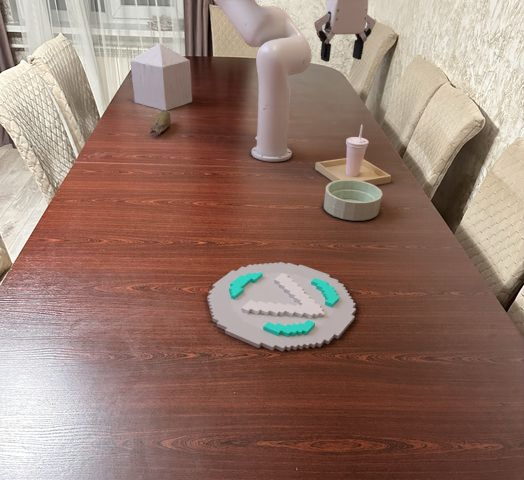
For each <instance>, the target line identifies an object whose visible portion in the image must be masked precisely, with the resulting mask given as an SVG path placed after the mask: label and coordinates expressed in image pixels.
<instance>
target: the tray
mask: <svg viewBox="0 0 524 480" xmlns="http://www.w3.org/2000/svg"><path fill="white" fill-rule="evenodd" d="M314 169H315V171H317V172H318V173H320V174H321V175H323V176H324V177H325V178H327V179H328V180H330V181H331V182H333V181H338V180H358V181H363V182H367V183H370V184H373V185H375V186H378V185H384V184H391V181H392V175H391V174H389V173H388V172H386V171H385V170H383V169H381V168H380V167H378V166H376V165H374V164H373V163H371V162H370V161H367V160H366V159H365V158H363V161H362V165H361V168H360V171H359V175H358V176H348V175H347V174H346V157H343V158H338V159H337V158H336V159H331V160H324V161H317V162H315V165H314Z"/></svg>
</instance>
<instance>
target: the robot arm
mask: <svg viewBox="0 0 524 480" xmlns="http://www.w3.org/2000/svg"><path fill="white" fill-rule="evenodd" d="M213 2H214V3H215V4H216V5H217V6H218V7H219V9H220V10H221V12H223V14H224V15H225V17H226V18H227V19H228V21H229V22H230V24H231V25H232V26H233V28H234V29H235V31H236V33H238V35H239V36H240V38H241V39H242V40H243V42H244V43H245V44H246V45H247V46H249V47H251V48H258V50H257V53H256V57H255V63H256V64H255V65H256V72H257V81H258V96H257V97H258V98H257V103H258V104H257V125H256V126H257V127H256V136H255V140H256V146H254V147H252V149H251V155H252V157H253V158H255V159H257V160H259V161H263V162H269V163H279V162H285V161H287V160H290V158H292V155H293V151H292V150H291V149H290V148H289V147H288V140H289V128H290V115H291V99H292V91H291V87H290V84H289V79H288V77H289V76H294V75H298V74H300V73H303V72H305V71H306V70H307V69H308V68H309V66H310V65H311V62H312V57H313V55H312V49H311V46H310V43H309V42H308V40H307V38H306V37H305V36H304V34H303V33H302V31H301V30H300V29H299V27H298V26H297V25H296V23H295V22H294V20H293V18H292V17H291V16H290V15H289V14H288V13H287V11H285V10H284V9H283V8H281V7H280V6H276V5H272V6H271V5H270V6H261V5H259V4H258V3H257V2H256V1H255V0H213ZM368 10H369V0H326V5H325V9H324V15H323V16H321V17H320V18H318V19H317V20H316V21H314V24H313V25H314V28H315V32H316V36H317V38H318V39H319V41H320V42H321V46H320V60H321V61H323V62H326V63H329V62H330V60H331V51H332V43H330V42H331V41H332V39H333V38H334V37H335V35H339V36H340V35H341V36H342V35H354V36H355V38H356V39H355V40H354V42H353V47H352V48H353V49H352V58H353V59H356V60H358V61H360V60H362V56H363V52H364V47H365V46H364V45H365V43H366V42H367V40H368V38H369V36H370V35H371V34H372V30H373V29H374V27H375V25H376V24H377V23H376V22H377V21H376V20H375V19H374V18H373V17H371V16H370V15H368Z"/></svg>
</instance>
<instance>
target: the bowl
mask: <svg viewBox="0 0 524 480" xmlns="http://www.w3.org/2000/svg"><path fill="white" fill-rule="evenodd" d="M383 195H384V194H383V191H382V189H380V188H379V187H378V185H373V184H370V183H367V182H363V181H358V180H338V181H331V182H329V183H327V184H326V186H325V190H324V196H323V209H324V210H325V211H326V213H328V214H329V215H331V216H332V217H335V218H338V219H342V220H347V221H367V220H371V219H373V218H376V217H377V216H378V215H379V213H380V210H381V204H382V200H383Z"/></svg>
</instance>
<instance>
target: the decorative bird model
mask: <svg viewBox="0 0 524 480" xmlns="http://www.w3.org/2000/svg"><path fill="white" fill-rule="evenodd" d="M171 120H172V119H171V113H170V112H169V110H161V111H160V112H159V113H157V114H156V115H155V117H154V118H153V120H152V123H151V127H150V131H148V134H153V133H155V134H156V135H157V136H159V135H161V133H163V132H164V131H165V130H166V129H167V128H169V126H170V125H171Z"/></svg>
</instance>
